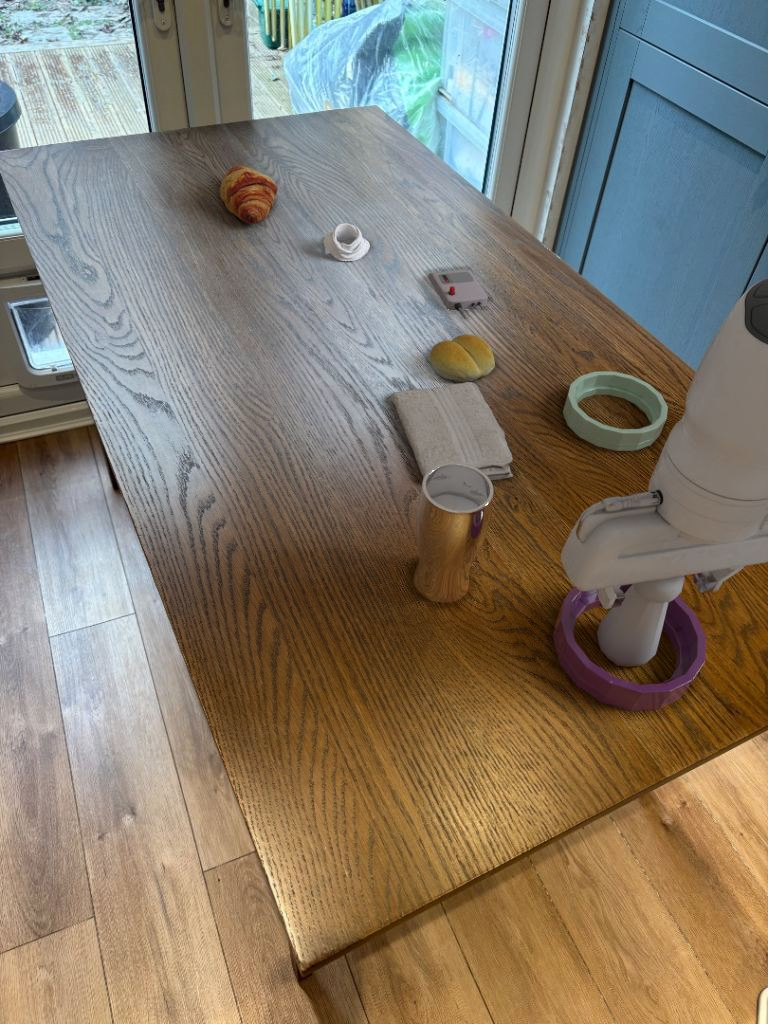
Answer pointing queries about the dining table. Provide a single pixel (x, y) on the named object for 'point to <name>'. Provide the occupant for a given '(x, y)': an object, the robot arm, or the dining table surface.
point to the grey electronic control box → (458, 290)
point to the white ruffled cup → (343, 236)
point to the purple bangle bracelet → (623, 693)
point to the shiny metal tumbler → (450, 528)
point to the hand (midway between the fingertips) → (656, 594)
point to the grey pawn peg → (637, 622)
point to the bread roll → (462, 358)
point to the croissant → (248, 193)
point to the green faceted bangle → (622, 388)
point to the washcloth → (453, 429)
